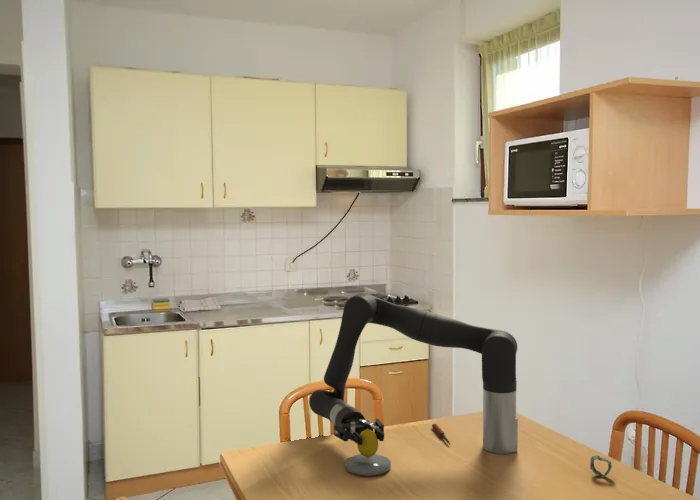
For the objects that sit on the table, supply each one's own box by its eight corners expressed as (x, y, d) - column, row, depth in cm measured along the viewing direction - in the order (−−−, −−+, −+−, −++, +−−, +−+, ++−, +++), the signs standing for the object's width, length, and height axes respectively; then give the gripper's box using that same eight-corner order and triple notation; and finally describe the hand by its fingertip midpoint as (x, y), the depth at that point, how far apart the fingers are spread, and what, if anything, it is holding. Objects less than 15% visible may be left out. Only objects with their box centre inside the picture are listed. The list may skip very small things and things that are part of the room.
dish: (392, 459, 170) (391, 454, 170) (389, 478, 158) (389, 472, 158) (348, 458, 171) (348, 452, 171) (342, 476, 160) (342, 471, 159)
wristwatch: (591, 472, 160) (591, 453, 160) (612, 477, 157) (612, 458, 157) (587, 476, 158) (588, 457, 157) (609, 481, 155) (609, 462, 154)
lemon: (376, 463, 161) (376, 433, 161) (355, 461, 163) (355, 432, 162) (379, 454, 167) (379, 425, 166) (359, 453, 168) (359, 424, 167)
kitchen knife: (431, 429, 194) (431, 422, 194) (436, 428, 194) (435, 422, 194) (447, 448, 179) (447, 441, 178) (452, 447, 179) (452, 440, 179)
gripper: (323, 409, 174) (346, 429, 159) (369, 402, 180) (396, 421, 164) (323, 435, 175) (346, 458, 159) (369, 428, 180) (396, 449, 165)
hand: (371, 439), depth 162 cm, fingers closed on lemon, 5 cm apart
